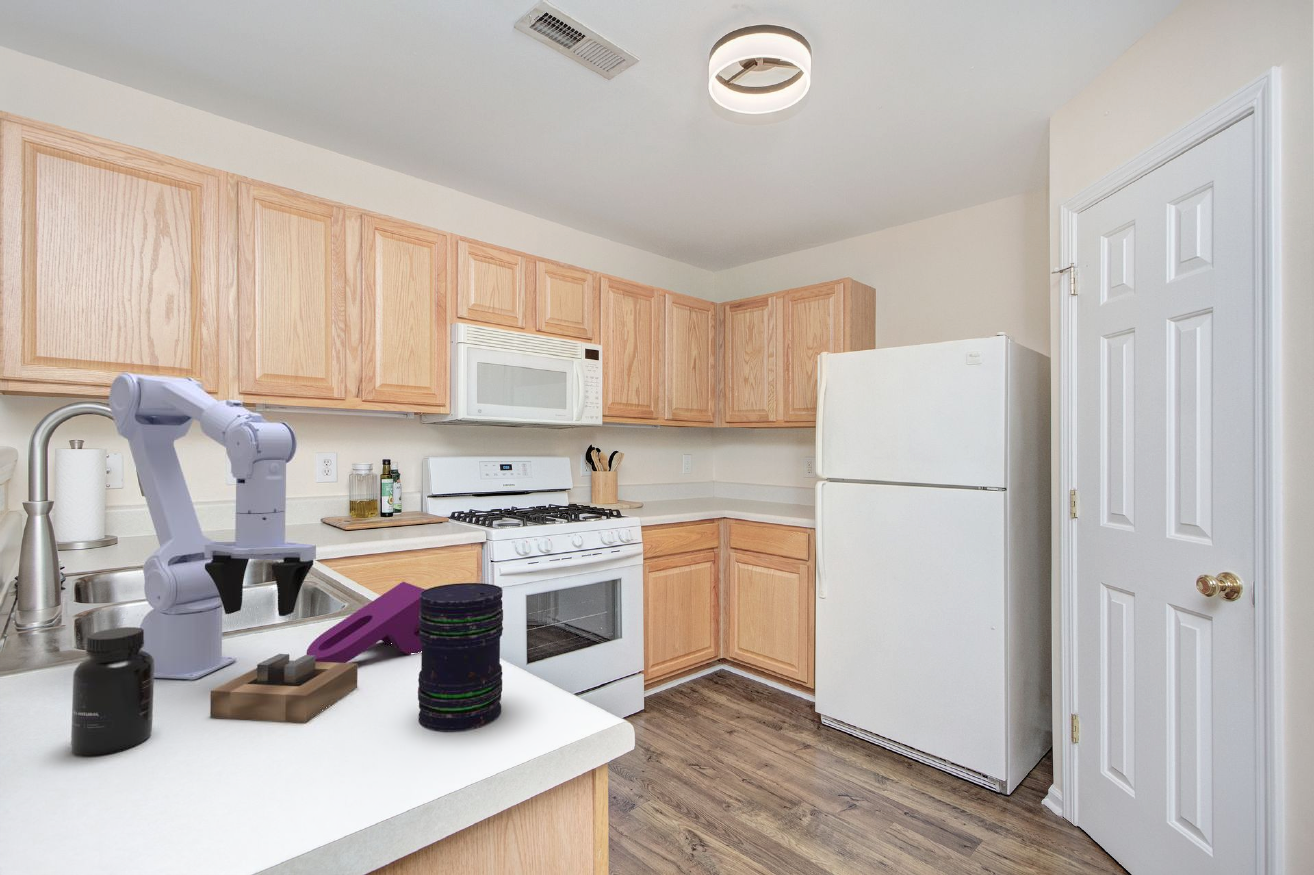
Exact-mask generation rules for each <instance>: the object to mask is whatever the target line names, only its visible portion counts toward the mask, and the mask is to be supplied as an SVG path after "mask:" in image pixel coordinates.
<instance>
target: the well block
mask: <svg viewBox="0 0 1314 875" xmlns="http://www.w3.org/2000/svg"><path fill="white" fill-rule="evenodd" d="M293 661H294V660H289V663H291V662H293ZM358 666H359V664H358V663H354V662H353V663H352V662H346V663H333V662H315V678H313V679H311V680H310V681H308V682H306V683H305V684H303V685H301V686H300V687H297V686H277V685H257V667H256V668H254V669H252V670H250V671H248V672H245V673H244V674H241V675H240V676H238V677H236V678H234V679H231V680H230V681H228V682H226V683H224V684H222V685H220V686H217V687H215V688H214V689H211V690H210V704H209V706H210V707H209V708H210V710H209V711H210V716H209V718H211V719H228V720H229V719H231V720H247V721H264V722H268V721H269V722H283V723H297V724H298V723H299V724H300V723H302V724H306V723H307V722H309V721H311V720H312V719H313V718H315V717H316V716H318V715H319V714H321V713H322V712H323V711H322V710H324V709H325V708H326V707H328V706H329V705H331V704H332V703H334V702H335V703H337V702H338V701H339V699H340V700H341V699H342V697H343V698H344V697H345V696H347V695H348V694H349V692H350V693H352V692H353V691H354V690H356V689H357V688H358ZM355 688H356V689H355ZM352 690H353V691H352ZM346 694H347V695H346ZM337 700H338V701H337ZM336 701H337V702H336ZM335 703H334V704H335ZM332 705H333V704H332ZM332 705H331V706H332ZM329 707H330V706H329ZM329 707H328V708H329ZM326 709H327V708H326ZM326 709H325V710H326ZM325 710H324V711H325ZM320 712H321V713H320ZM318 713H319V714H318ZM317 714H318V715H317ZM314 716H315V717H314ZM311 718H312V719H311ZM308 720H309V721H308Z"/></svg>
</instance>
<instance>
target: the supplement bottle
mask: <svg viewBox="0 0 1314 875" xmlns="http://www.w3.org/2000/svg"><path fill="white" fill-rule="evenodd" d="M142 647H144V630H143V629H141V628H140V627H135V626H133V627H131V626H125V627H116V628H109V629H104V630H100V631H96V632H92V633H91V634H89V635H88V636H87V638H86V649H85V655H86V656H88V658H86V659H85V660H83V661H82V662H80V663H79V664H78V665H77V666H76V668H75V669H74V671H73V676H72V699H71V700H72V701H71V703H72V705H71V732H70V733H71V736H70V738H71V739H70V741H71V744H70V745H71V750H72V751H73V752H74V753H75V754H78V755H79V756H89V757H90V756H91V757H93V756H104V755H110V754H113V753H119V752H122V751H125V750H128V749H131V748H133V747H136V746H137V745H140V744H141V743H143V742H145V740H147V739H148V738H149V737H150V735H151V733H152V732H153V718H154V717H153V716H154V714H153V713H154V686H155V685H154V684H155V682H154V680H155V677H154V659H153V657H152V656H151V655H150V654H149V653H147V652H145V651H142V650H141V648H142Z"/></svg>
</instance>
